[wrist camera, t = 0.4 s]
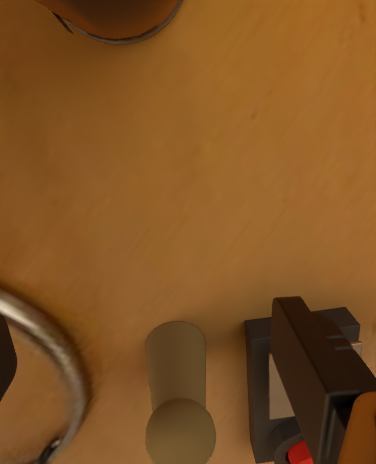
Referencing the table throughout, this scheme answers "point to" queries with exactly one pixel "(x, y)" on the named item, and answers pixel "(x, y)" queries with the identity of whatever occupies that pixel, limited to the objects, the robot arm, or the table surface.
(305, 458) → the button
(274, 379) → the plate
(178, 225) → the table surface
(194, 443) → the olive pawn piece
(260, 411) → the machine
